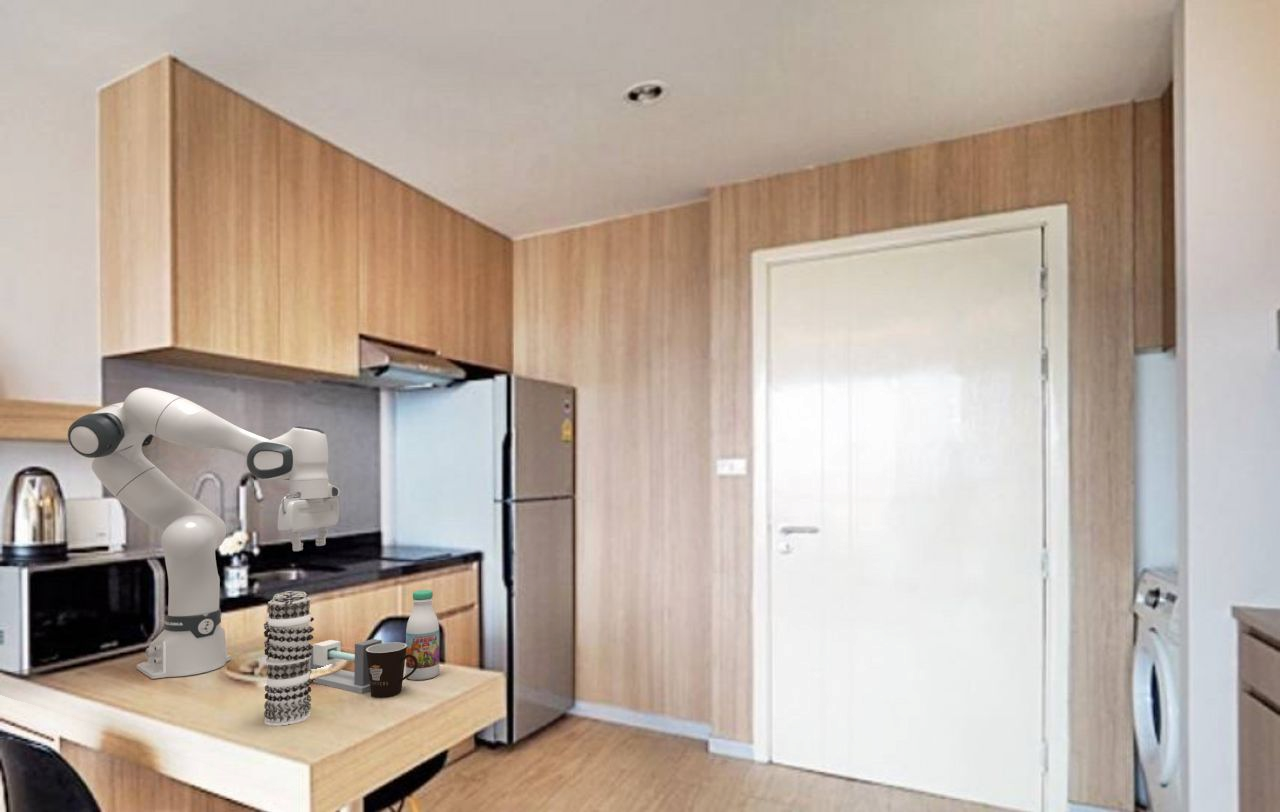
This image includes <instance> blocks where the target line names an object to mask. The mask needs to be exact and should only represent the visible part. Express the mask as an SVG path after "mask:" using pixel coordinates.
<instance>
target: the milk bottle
mask: <svg viewBox="0 0 1280 812" xmlns="http://www.w3.org/2000/svg"><path fill="white" fill-rule="evenodd" d="M433 594H434V593H433V591H432V590H430V589H421V590H416V591H414V592H413V593H412V602H413V606H412V610H411V613H410V615H409V618H408V620H407V623H406V631H405V644H406V645H407V649H406V655H409V654H410V655H413V656H415V657H416V659H417V662H418V666H417V669H416V670H415V672H414V673H413V674H412V675H410V676H409V677H408V678H407V679H408V680H411V681H424V680H429V679H432V678H435V677H437V676H438V675H439V673H440V625H439V620H438V617H437V615H436V613H435V611H434V610H435V609H434V608H433V603H432V602H433V596H434V595H433ZM414 667H415V662H414V660H413V659H412V658H410V657H407V658H406V659H405V676H406V675H408V674H409V673H411V672H412V670H413V669H414Z"/></svg>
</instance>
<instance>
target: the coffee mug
mask: <svg viewBox="0 0 1280 812" xmlns="http://www.w3.org/2000/svg"><path fill="white" fill-rule="evenodd" d="M406 649H407V645H406V643H404V642H398V641H397V642H396V641H394V642H393V641H391V642H382V644H376V645H373V646H370V647H368V648H367V649H366V654H367V664H368V673H369V682H370V691H369V692H370V696H371V697H372V698H375V699H387V698H393V697H395V696H399V695H400V694H401V693H402V690H403V681H405V680H406V679H408V677H409V676H410V675H412V674H413V673H414V672H415V670H416V669H417V666H418V662H417V659H416V657H415V656H413V655H410V654H409V655H406ZM407 657H410V658H412V659H413V660H414V662H415V667H414V669H413V670H412V672H411V673H409V674H408V675H406V674H405V676H404V673H405V667H406V658H407Z"/></svg>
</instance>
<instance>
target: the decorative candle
mask: <svg viewBox="0 0 1280 812" xmlns="http://www.w3.org/2000/svg"><path fill="white" fill-rule="evenodd" d="M311 600H312V597H311V596H309V595H308V594H307V593H306V592H305V591H304V590H289V591H283V592H282V591H281V592H277V593H276V594H274V596H272V598H271V600H270V601H268V602H267V603H268V616H267V621H266V622H264V623H263V628H264V631H263V636H264V637H265V638H266V640H265V641H264V642H263V643H264V647H265V649H264V654H265V655H266V657H267V658H266V659H265V660H264V661H265V664H266V665H267V676H266V685H265V686H264V691H265V692H266V693H265V694H264V699H265V700H266V701H265V702H264V704H263V707H264V712H263V715H264V717H265V718H264V724H265V725H266V726H269V727H270V726H271V727H281V726H282V725H285V726H289V725H288V724H290V725H294V724H297V723H301V722H304V721H305V720H307V719H309V718H310V717H311V715H312V714H311V711H310V710H311V709H312V704H311V702H312V696H311V695H309V694H310V693H311V692H312V687H311V686H310V685H311V684H312V682H311V679H310V671H309V668H308V667H309V659H310V658H311V657H312V654H311V653H310V652H309V650H311V649H312V648H313V646H312V645H313V644H310V643H309V642H310V641H311V640H312V639H314V635H312V634H311V633H312V632H313V631H315V628H314V627H312V626H311V625H310V623H312V622H313V621H314V620H315V618H314V617H312V615H311V614H312V613H311V612H310V609H311V605H310V604H311V603H310V601H311ZM282 727H283V726H282Z"/></svg>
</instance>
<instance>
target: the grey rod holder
mask: <svg viewBox="0 0 1280 812" xmlns="http://www.w3.org/2000/svg"><path fill="white" fill-rule="evenodd" d="M382 643H383V640H382V639H376V638H372V639H368V640H365V641H364V640H363V641H360V642H356V643H354V653H350V652H344V651H341V652H340V651H335V650H329V649H328V651H327V657H332V658H337V659H341V660H343V661H348V662H353V663H354V671H349V670H344V669H341V670H340V671H338V672H335V673H332V674H329V675H326V676H322V677H319V678H316V679H315V680H313V682H314V684H319V685H322V686H323V685H324V686H327V687H332V688H336V689H340V690H344V691H349V692H353V693H357V694H361V695H362V694H363V695H364V694H366V693H369V692H371V691H370V682H369V673H368V664H367V654H366V649H367V648H368V647H370V646H373V645H376V644H382ZM311 645H312V646H313V644H311ZM309 652H310V653H311V654H312V657H311V658H310V659H309V667H308V668H309V670H310V669H317V668H321V667H324V666H320V665H316V664H313V648H312V649H311V650H309ZM313 682H312V683H313Z"/></svg>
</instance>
